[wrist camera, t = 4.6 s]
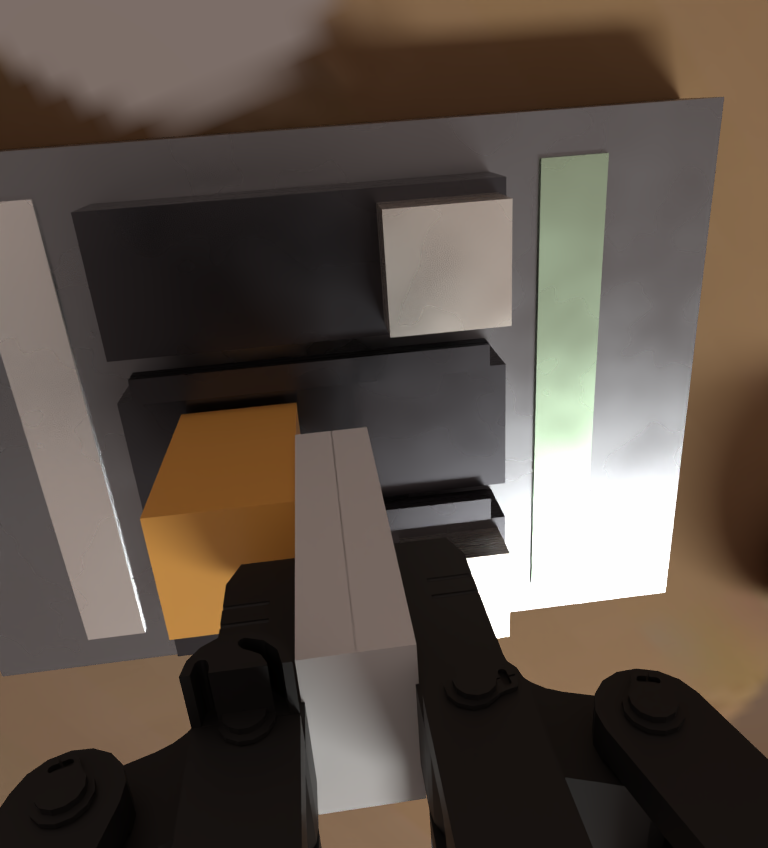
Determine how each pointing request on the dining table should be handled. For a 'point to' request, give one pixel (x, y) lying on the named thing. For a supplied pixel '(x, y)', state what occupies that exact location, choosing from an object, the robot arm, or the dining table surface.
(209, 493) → the block
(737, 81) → the dining table surface
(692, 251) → the panel
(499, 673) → the robot arm
